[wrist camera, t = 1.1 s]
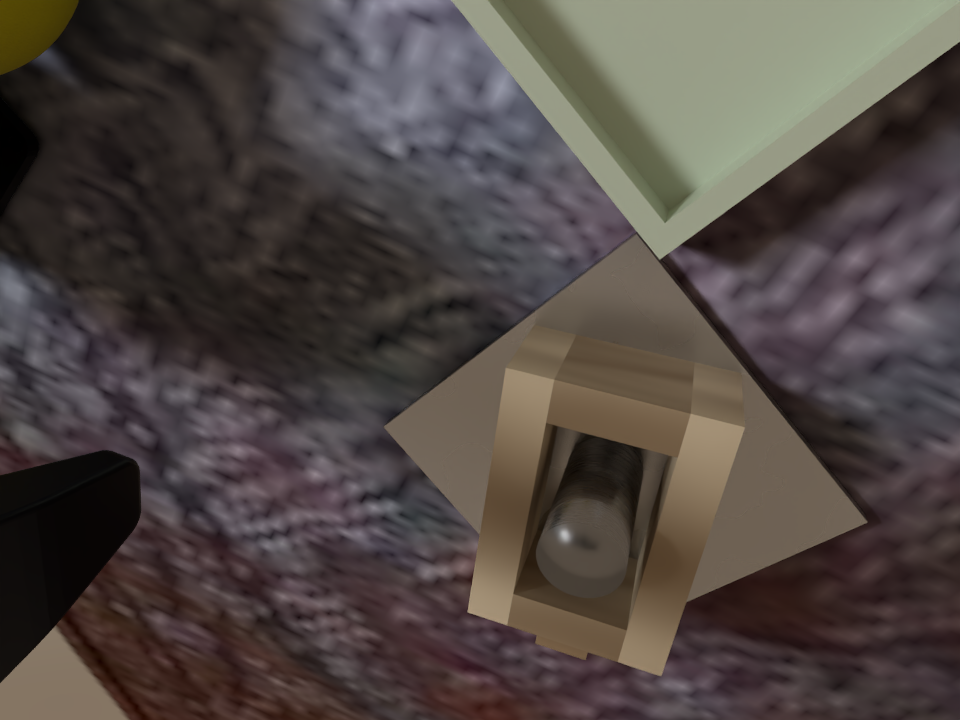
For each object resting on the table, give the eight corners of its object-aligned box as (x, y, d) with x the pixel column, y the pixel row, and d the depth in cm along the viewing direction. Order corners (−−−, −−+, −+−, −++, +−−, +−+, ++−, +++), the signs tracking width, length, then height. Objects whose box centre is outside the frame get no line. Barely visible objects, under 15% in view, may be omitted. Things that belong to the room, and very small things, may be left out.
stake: (583, 639, 24) (555, 758, 20) (388, 421, 23) (318, 500, 19) (864, 513, 19) (903, 636, 15) (638, 230, 18) (615, 282, 14)
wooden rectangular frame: (534, 324, 20) (506, 367, 17) (741, 373, 18) (745, 427, 16) (489, 589, 24) (460, 656, 21) (654, 642, 23) (646, 720, 20)
